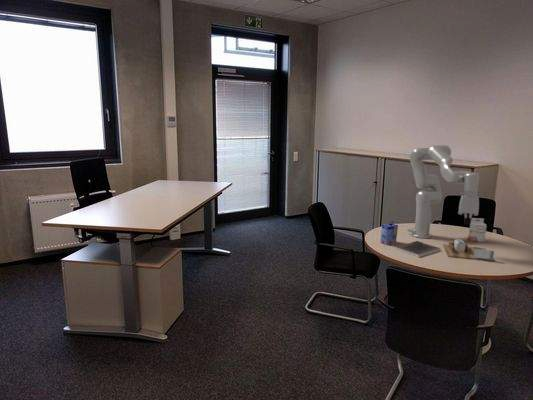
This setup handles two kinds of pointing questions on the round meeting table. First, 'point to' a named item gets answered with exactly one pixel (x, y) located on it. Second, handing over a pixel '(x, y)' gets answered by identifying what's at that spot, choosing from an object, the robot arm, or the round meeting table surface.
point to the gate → (483, 254)
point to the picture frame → (417, 249)
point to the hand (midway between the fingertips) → (466, 224)
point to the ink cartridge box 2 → (477, 230)
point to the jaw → (459, 245)
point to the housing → (466, 254)
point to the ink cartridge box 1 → (389, 233)
